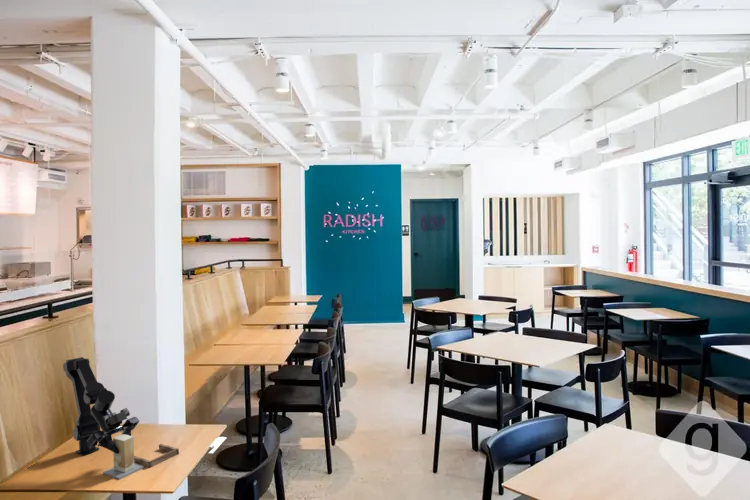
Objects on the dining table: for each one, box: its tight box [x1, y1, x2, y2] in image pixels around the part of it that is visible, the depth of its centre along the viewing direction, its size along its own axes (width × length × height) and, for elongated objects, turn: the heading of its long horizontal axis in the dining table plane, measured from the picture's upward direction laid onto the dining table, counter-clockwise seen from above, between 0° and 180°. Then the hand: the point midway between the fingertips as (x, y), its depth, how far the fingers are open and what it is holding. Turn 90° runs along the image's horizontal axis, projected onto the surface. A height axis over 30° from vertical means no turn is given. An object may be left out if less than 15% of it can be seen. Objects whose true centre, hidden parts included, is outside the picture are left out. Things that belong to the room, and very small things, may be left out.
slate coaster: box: [102, 463, 145, 480], centre depth 187 cm, size 10×10×1 cm
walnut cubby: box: [134, 443, 180, 468], centre depth 197 cm, size 11×13×2 cm
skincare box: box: [112, 433, 135, 472], centre depth 186 cm, size 6×4×12 cm
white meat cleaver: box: [207, 436, 227, 455], centre depth 206 cm, size 5×15×1 cm, turn 175°
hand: (125, 449), depth 186 cm, fingers open, 5 cm apart
